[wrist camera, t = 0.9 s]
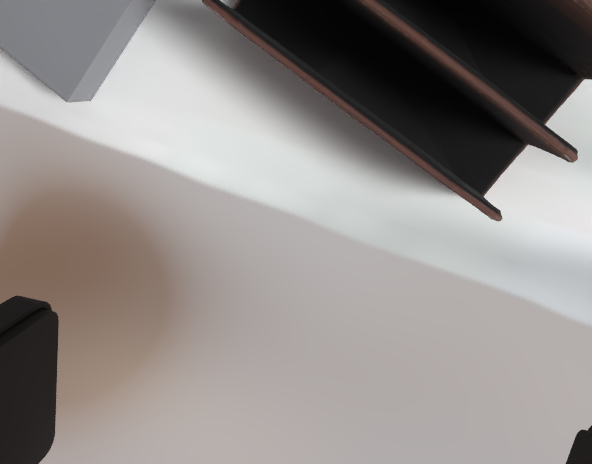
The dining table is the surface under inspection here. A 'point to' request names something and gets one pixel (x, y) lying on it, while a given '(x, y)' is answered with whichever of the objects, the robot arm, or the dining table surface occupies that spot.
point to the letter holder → (436, 73)
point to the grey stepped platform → (69, 40)
